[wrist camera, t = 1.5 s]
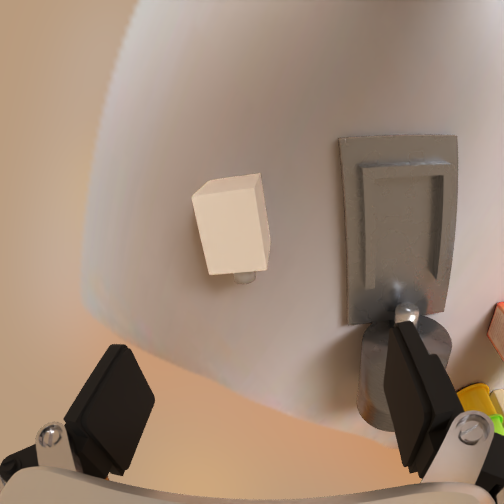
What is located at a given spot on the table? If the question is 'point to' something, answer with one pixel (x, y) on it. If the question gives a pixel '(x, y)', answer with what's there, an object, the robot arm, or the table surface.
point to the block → (233, 226)
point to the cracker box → (497, 329)
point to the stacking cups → (480, 403)
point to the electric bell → (397, 247)
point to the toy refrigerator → (498, 402)
